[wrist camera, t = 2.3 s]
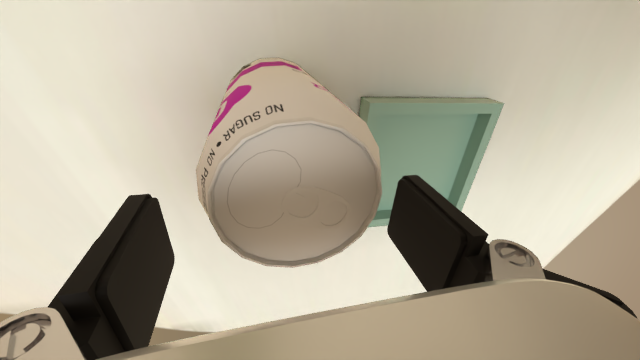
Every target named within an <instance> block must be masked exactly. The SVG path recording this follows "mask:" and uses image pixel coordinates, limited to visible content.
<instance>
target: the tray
mask: <svg viewBox="0 0 640 360" xmlns="http://www.w3.org/2000/svg"><path fill="white" fill-rule="evenodd" d="M503 105H504V103H501V102H498V101H495V100H491V99H488V98H408V97H361V103H360V111H359V117H360V118H361V119H362V120H364V121H365V122H366V124H367V126H368V128H369V130H370V132H371V133H372V135H373V137H374V139H375V141H376V143H377V145H378V147H379V154H380V166H381V185H382V196H381V199H380V202H379V206H378V209H377V212H376V215H375V217H374V219H373V220H372V222H371V223H370V224H369V226H368V227H376V226H385V225H388V224H389V220H390V215H391V211H392V206H393V202H394V197H395V193H396V189H397V184H398V181H399V180H400V179H401V178H402V177H403V176H405V175H418V176H420V177H421V178H422V179H423V180H424V181H426V182H427V183H428V184H429V185H430V186H431V187H433V188H434V189H435V190H436V191H437V192H439V193H440V194H441V195H442V196H443V197H445V198H446V199H447V200H448V201H449V202H450V203H452V204H453V205H454V206H455V207H456V208H458V209H459V210H460V211H461V210H462V208H463V205H464V203H465V200H466V198H467V195H468V193H469V190H470V188H471V185H472V183H473V180H474V178H475V175H476V173H477V170H478V168H479V165H480V163H481V160H482V158H483V155H484V153H485V150H486V148H487V145H488V143H489V140H490V138H491V135H492V133H493V130H494V128H495V125H496V123H497V120H498V118H499V115H500V113H501V110H502V108H503Z"/></svg>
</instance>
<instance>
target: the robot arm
mask: <svg viewBox="0 0 640 360" xmlns="http://www.w3.org/2000/svg"><path fill="white" fill-rule="evenodd" d="M387 230H388V235H389V237H390V238H391V240H392V241H393V243H394V244H395V246H396V247H397V248H398V250H399V251H400V253H401V254H402V256H403V257H404V259H405V260H406V262H407V263H408V264H409V266H410V267H411V269H412V270H413V272H414V273H415V275H416V276H417V277H418V279H419V280H420V282H421V283H422V285H423V286H424V288H425V289H426V290H427V292H424V293H418V294H413V295H408V296H402V297H397V298H391V299H386V300H381V301H375V302H370V303H365V304H360V305H354V306H349V307H344V308H339V309H333V310H328V311H323V312H318V313H312V314H307V315H302V316H297V317H292V318H287V319H281V320H276V321H271V322H266V323H261V324H256V325H251V326H246V327H241V328H236V329H231V330H226V331H220V332H215V333H210V334H206V335H200V336H196V337H191V338H187V339H182V340H177V341H172V342H167V343H163V344H158V345H153V346H149V347H148V345H149V342H150V339H151V336H152V333H153V329H154V326H155V323H156V320H157V317H158V313H159V310H160V307H161V304H162V301H163V298H164V294H165V291H166V288H167V285H168V282H169V278H170V275H171V272H172V269H173V266H174V253H173V249H172V246H171V242H170V239H169V236H168V232H167V229H166V225H165V222H164V219H163V215H162V212H161V208H160V205H159V202H158V199H157V198H152V197H151V195H149V194H143V195H131V196H129V197H128V198H127V199H126V200H125V202H124V203H123V205H122V206H121V207H120V209H119V210H118V212H117V213H116V214H115V216H114V217H113V219H112V220H111V221H110V223H109V224H108V226H107V227H106V228H105V230H104V231H103V233H102V234H101V235H100V237H99V238H98V239H97V240H96V241H95V242H94V244H93V245H92V246H91V248H90V249H89V251H88V252H87V253H86V255H85V256H84V257H83V259H82V260H81V262H80V263H79V264H78V266H77V267H76V269H75V270H74V271H73V273H72V274H71V275H70V277H69V278H68V280H67V281H66V282H65V284H64V285H63V287H62V288H61V289H60V291H59V292H58V293H57V295H56V296H55V298H54V299H53V300H52V302H51V303H50V304H49V306H48V307H43V308H34V309H31V310H27V311H24V312H21V313H19V314H16V315H14V316H12V317H10V318H8V319H6V320H4V321H2V322H1V323H0V360H640V321H639V320H638V319H637V317H636V315H635V314H634V313H633V311H632V310H631V309H630V308H628V307H627V305H625V304H624V303H623V302H622V301H621V300H620V299H619V298H617V297H616V296H614V295H612V294H611V293H609V292H606V291H603V290H600V289H597V288H595V287H592V286H589V285H586V284H583V283H581V282H578V281H575V280H572V279H570V278H567V277H564V276H561V275H558V274H555V273H553V272H550V271H547V270H544V269H542V266H541V263H540V261H539V259H538V258H537V257H536V256H535V255H534V254H533V252H531V251H530V250H528V249H527V248H525V247H524V246H522V245H520V244H517V243H515V242H512V241H508V240H503V239H497V240H493V241H492V242H490V244H488V243H487V242H486V238H487V236H488V234H487V233H486V232H485V231H484V230H482V229H481V228H480V227H479V226H478V225H477V224H475V223H474V222H473V221H472V220H471V219H469V218H468V217H467V216H466V215H465V214H463V213H462V212H461V211H460V210H459V209H458V208H456V207H455V206H454V205H453V204H452V203H450V202H449V201H448V200H447V199H446V198H445V197H443V196H442V195H441V194H440V193H439V192H437V191H436V190H435V189H434V188H433V187H431V186H430V185H429V184H428V183H427V182H426V181H424V180H423V179H422V178H421V177H420V176H418V175H405V176H403V177H402V178H401V179H400V180H399V181H398V184H397V189H396V193H395V197H394V202H393V206H392V211H391V215H390V220H389V224H388V229H387Z"/></svg>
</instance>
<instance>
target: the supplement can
mask: <svg viewBox="0 0 640 360" xmlns="http://www.w3.org/2000/svg"><path fill="white" fill-rule="evenodd" d="M196 174H197V185H198V196H199V201H200V202H201V204H202V206H203V208H204V210H205V211H206V213H207V215H208V217H209V220H210V222H211V223H212V225H213V227H214V229H215V230H216V232H217V234H218V236H219V237H220V239H221V241H222V242H223V243H224V244H225V245H227V246H228V247H229V248H231V249H232V250H233V251H234V252H236V253H237V254H238V255H239V256H241V257H242V258H245V259H248V260H251V261H253V262H256V263H259V264H262V265H265V266H274V267H291V268H293V267H298V266H303V265H309V264H314V263H318V262H321V261H323V260H325V259H327V258H329V257H332V256H334V255H336V254H338V253H340V252H342V251H343V250H345V249H346V248H347V247H348V246H350V245H351V244H352V243H353V242H355V241H356V240H357V239H358V238H360V237H361V236H362V234H363V233H364V231H365V230H366V229H367V227H368V226H369V224H370V223H371V222H372V220H373V219H374V217H375V215H376V212H377V209H378V206H379V202H380V199H381V196H382V185H381V166H380V154H379V147H378V145H377V143H376V141H375V139H374V137H373V135H372V133H371V132H370V130H369V128H368V126H367V124H366V122H365V121H364V120H362V119H361V118H360V117H359V116H358V115H356V114H355V113H354V112H353V111H352V110H351V109H349V108H348V107H347V106H346V105H345V104H343V103H342V102H341V101H340V100H339V99H338V98H336V97H335V96H334V95H333V94H332V93H330V92H329V91H328V90H327V89H326V88H325V87H323V86H322V85H321V84H320V83H319V82H318V81H316V80H315V79H314V78H313V77H312V76H310V75H309V74H308V73H307V72H306V71H304V70H303V69H302V68H301V67H299V66H298V65H297V64H295V63H292V62H289V61H286V60H283V59H281V58H265V59H258V60H256V61H254V62H252V63H250V64H248V65H246V66H243V67H242V68H241V70H240V71H239V72H238V73H237V74H236V75H235V76H234V77H233V78H232V79H231V81H230V84H229V86H228V88H227V91H226V93H225V96H224V98H223V101H222V103H221V106H220V108H219V111H218V113H217V115H216V118H215V120H214V123H213V125H212V128H211V130H210V133H209V135H208V138H207V140H206V143H205V146H204V149H203V151H202V154H201V157H200V160H199V163H198V165H197V168H196Z"/></svg>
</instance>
